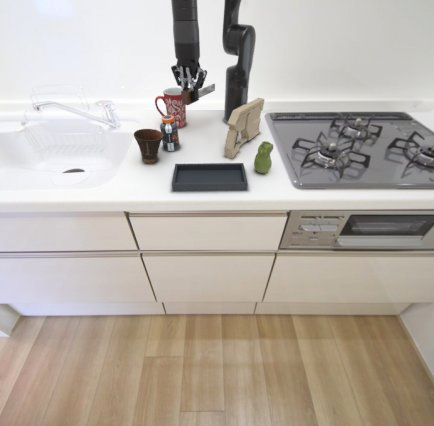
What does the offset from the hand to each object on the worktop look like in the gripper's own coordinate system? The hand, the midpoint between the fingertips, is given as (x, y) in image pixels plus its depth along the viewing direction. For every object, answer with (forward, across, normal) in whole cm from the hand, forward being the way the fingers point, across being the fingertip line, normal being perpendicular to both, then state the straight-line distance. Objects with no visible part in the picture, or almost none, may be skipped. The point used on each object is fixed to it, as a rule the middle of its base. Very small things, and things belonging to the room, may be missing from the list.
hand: (190, 100), depth 82 cm
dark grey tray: (+14, -21, +17) cm, 31 cm away
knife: (0, 0, -5) cm, 5 cm away
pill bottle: (+15, +2, +10) cm, 18 cm away
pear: (+15, -32, +4) cm, 35 cm away
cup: (+14, +1, +20) cm, 24 cm away
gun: (+15, -18, -8) cm, 24 cm away
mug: (+15, +15, -5) cm, 22 cm away
